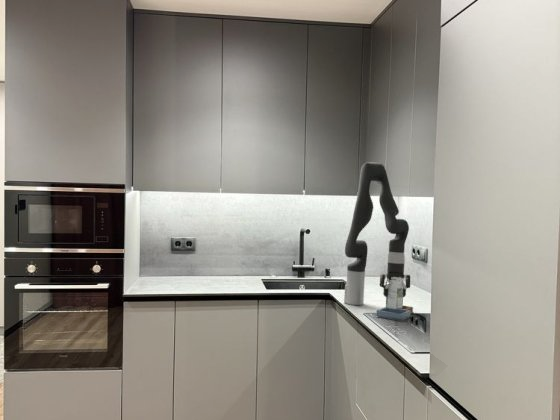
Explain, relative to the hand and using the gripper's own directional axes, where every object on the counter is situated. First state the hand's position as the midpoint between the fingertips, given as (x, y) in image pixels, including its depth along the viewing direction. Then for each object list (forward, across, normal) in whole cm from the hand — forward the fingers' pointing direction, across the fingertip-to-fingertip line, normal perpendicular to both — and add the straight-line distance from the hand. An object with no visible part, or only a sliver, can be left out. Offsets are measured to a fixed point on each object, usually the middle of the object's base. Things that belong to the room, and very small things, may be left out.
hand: (394, 296), depth 214 cm
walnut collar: (+9, -8, -11) cm, 16 cm away
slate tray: (+9, 0, 0) cm, 9 cm away
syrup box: (+5, 0, 0) cm, 5 cm away
